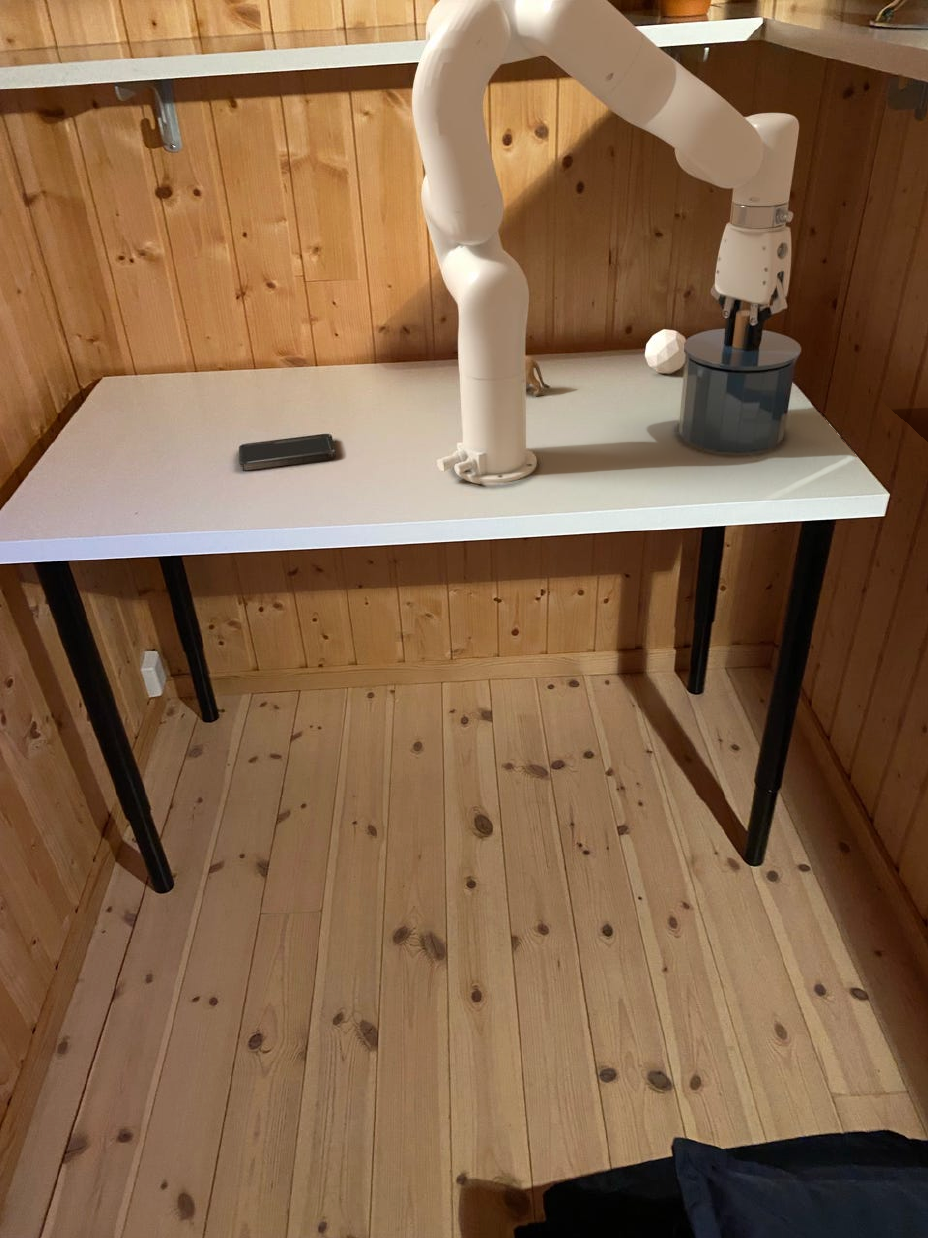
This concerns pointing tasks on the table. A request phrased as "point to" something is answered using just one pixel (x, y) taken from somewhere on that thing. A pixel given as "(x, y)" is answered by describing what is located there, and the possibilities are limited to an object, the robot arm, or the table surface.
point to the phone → (286, 451)
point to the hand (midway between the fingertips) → (741, 345)
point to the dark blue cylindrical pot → (734, 407)
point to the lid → (741, 348)
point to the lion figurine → (530, 376)
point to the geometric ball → (665, 351)
